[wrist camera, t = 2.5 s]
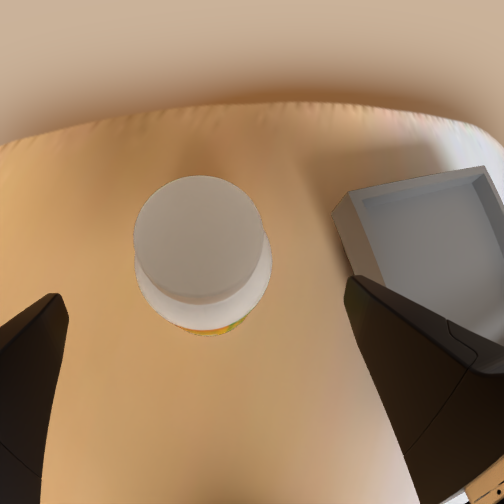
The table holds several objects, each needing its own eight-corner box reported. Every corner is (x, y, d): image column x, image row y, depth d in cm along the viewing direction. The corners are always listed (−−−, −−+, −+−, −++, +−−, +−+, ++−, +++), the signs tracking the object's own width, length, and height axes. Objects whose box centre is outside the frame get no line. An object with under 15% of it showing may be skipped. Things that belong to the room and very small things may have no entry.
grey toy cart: (502, 348, 19) (573, 336, 12) (386, 428, 17) (463, 455, 9) (449, 193, 23) (507, 145, 15) (320, 226, 20) (370, 161, 13)
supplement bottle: (236, 349, 18) (255, 351, 8) (149, 317, 18) (83, 283, 8) (265, 264, 19) (307, 186, 10) (182, 235, 19) (156, 138, 10)
